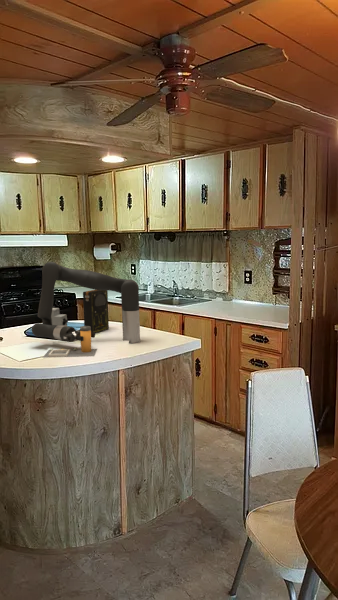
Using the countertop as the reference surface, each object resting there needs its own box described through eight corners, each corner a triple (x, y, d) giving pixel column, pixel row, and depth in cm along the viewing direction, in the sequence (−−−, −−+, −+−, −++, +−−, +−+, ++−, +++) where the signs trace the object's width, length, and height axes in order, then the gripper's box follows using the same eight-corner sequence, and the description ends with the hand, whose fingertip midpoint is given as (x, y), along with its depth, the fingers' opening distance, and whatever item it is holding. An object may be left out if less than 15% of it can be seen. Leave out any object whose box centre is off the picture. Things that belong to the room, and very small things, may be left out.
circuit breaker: (64, 336, 265) (63, 310, 263) (41, 335, 268) (40, 309, 266) (70, 333, 273) (68, 308, 270) (47, 332, 276) (46, 307, 273)
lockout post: (92, 349, 228) (91, 325, 226) (90, 352, 223) (89, 327, 221) (81, 349, 228) (80, 326, 226) (80, 352, 223) (79, 328, 221)
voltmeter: (93, 334, 268) (91, 291, 265) (82, 332, 273) (80, 291, 269) (110, 329, 282) (109, 288, 278) (99, 328, 286) (98, 288, 282)
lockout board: (97, 351, 230) (97, 346, 230) (94, 359, 216) (94, 353, 216) (49, 352, 229) (48, 347, 229) (42, 360, 215) (42, 355, 215)
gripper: (53, 328, 226) (78, 332, 217) (74, 323, 238) (98, 326, 229) (54, 343, 227) (78, 347, 218) (75, 337, 239) (99, 341, 230)
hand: (88, 337), depth 224 cm, fingers open, 7 cm apart
